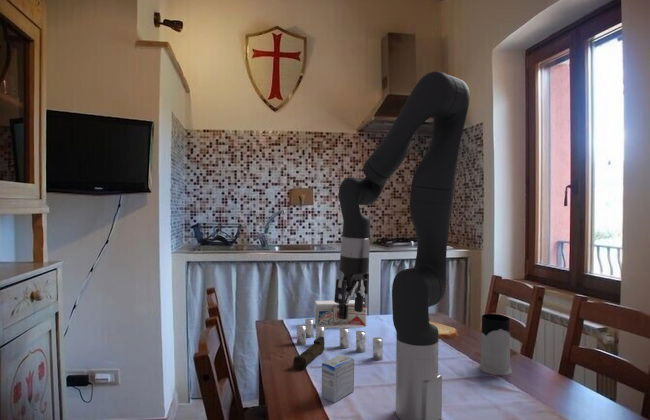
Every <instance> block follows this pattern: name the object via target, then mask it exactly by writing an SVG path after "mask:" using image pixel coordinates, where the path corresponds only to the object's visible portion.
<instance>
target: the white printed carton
mask: <svg viewBox="0 0 650 420" xmlns="http://www.w3.org/2000/svg"><path fill="white" fill-rule="evenodd" d="M363 305H366V304H365V302H364V301H363ZM354 307H355V299H350V300H349V303H348V316H347V319H345V320H344V319H340V318H339V304H338V303H335V302H334V300H314V325H315V327H316V326H324V329H340V328H348V329H349V328H350V329H351V328H365V326H367V324H368V323H367V319H368V318H367V316H368V315H367V314H368V313H367V310H368V309H367V307H366V306H365V307H364V306H363V311H362V312H357V311H355V310H354Z"/></svg>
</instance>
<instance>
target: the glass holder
mask: <svg viewBox="0 0 650 420" xmlns="http://www.w3.org/2000/svg"><path fill="white" fill-rule="evenodd" d="M510 320H511V318H510V317H508V316H506V315H501V314H496V313H495V314H494V313H486V314H482V315H481V332H480V362H479V365H478V368H479V370H481V371H482V372H483V373H487V374H490V375H494V376H507V375H510V374H512V369H511V332H510V331H511V330H510V329H511V328H510V325H511V324H510V323H511V321H510Z"/></svg>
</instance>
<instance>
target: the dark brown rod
mask: <svg viewBox="0 0 650 420" xmlns="http://www.w3.org/2000/svg"><path fill="white" fill-rule="evenodd" d="M324 350H325V336H324V337H319V338H317V339H316V338H315V339H314V340H313V343H312V345H310V347H308V348H306V349H305V351H303V352H301V353H300V354H299V355H298V356H295V357H294V358H293V367H294V369H297V370H303V371H304V370H305V369H306V368H307V367H308V364H310V362H312V361H313V360H314V359H315V358H316V357H318V356H321V355H322V354H323V352H324Z"/></svg>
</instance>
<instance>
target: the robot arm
mask: <svg viewBox="0 0 650 420" xmlns="http://www.w3.org/2000/svg"><path fill="white" fill-rule="evenodd" d="M470 93H471V92H470V90H469V87H468V84H467V83H466V82H465V81H464V80H462V79H461V78H458V77H455V76H453V75H450V74H447V73H445V72H442V71H435V70H434V71H430V72H428V73H426V74H425V75H423V76H422V77H421V78H420V79H419V80H418V81H417V83H416V84H415V86H414V87H413V89H412V91H411V92H410V94H409V96H408V97H407V99H406V101H405V103H404V105H403V106H402V108H401V110H400V111H399V114H398V115H397V117H396V118H395V120H394V122H393V123H392V125H391V127H390V129H389V130H388V132H387V134H386V135H385V137H384V138H383V139H382V141H381V142H380V143H379V145H378V146H377V147H376V148H375V150H373V152H372V153H371V155H370V156H369V157H368V158H367V159H366V161H365V162H364V164H363V165H362V172H363V174H364V176H365V177H364V178H363V177H353V176H352V177H351V176H350V177H346V178H345V179H343V180H342V182H341V183H340V185H339V189H338V199H339V200H338V201H339V205H340V209H341V215H342V219H343V220H342V223H343V224H342V238H341V243H340V253H339V271H340V272H341V273H342V274H343V277H342V279H339V278H336V280H335V291H334V300H333V301H334V302H335V303H338V304H339V318H340V319H344V320H345V319H347V316H348V303H349V300H351V299H352V298H354V297H353V296H355V298H354V300H355V307H354V310H355V311H357V312H362V311H363V307H364V304H363V302H364V298H365V297H366V295H368V294H369V284H370V283H369V282H370V281H369V280H370V279H369V277H370V273H368V272H369V264H370V261H369V260H370V247H371V246H370V244H371V243H370V233H371V232H370V231H371V218H370V217H369V216H368V215H366V214H364V213H362V211H361V209H360V206H369V205H372V204H373V203H374V202H376V201H377V200H378V198H379V197H380V196H381V193H382V192H383V189H384V188H385V185H386V183H387V181H388V180H389V179H390V177H391V176H392V175H393V174H394V173H396V171H397V170H398V169H399V167H400V166H401V165H402V164H403V162H404V161H405V159H406V157H407V154H408V152H409V149H410V144H411V141H412V139H413V137H414V135H415V134H416V132H417V131H418V129H419V128H420V127H421V126H422V125H423V124H424V123H426V122H427V121H428V119H430V118H433V123H432V124H433V126H432V134H431V140H430V143H429V146H428V148H427V150H426V152H425V154H424V156H423V157H422V159H421V160H420V162H419V164H418V165H417V167H416V170H415V171H414V174H413V176H412V180H411V181H412V182H411V186H410V195H409V208H408V209H409V213H410V218H411V223H412V225H413V229H414V231H415V232H414V233H415V235H416V240H417V241H416V242H417V243H416V244H417V245H416V249H417V250H416V256H415V262H414V267H410V268H406V269H402V270H400V271H398V273H397V274H396V275H395V277H394V278H393V281H392V284H391V306H392V307H391V309H392V322H393V326H394V328H395V331H396V332H395V333H396V341H395V342H396V343H395V345H396V349H395V350H396V351H395V353H396V354H395V356H396V357H395V365H396V366H395V415H396V417H397V418H398V419H399V420H441V419H442V418H443V413H442V411H443V408H442V407H443V406H442V405H443V404H442V403H443V376H442V375H441V374H439V339H440V338H439V332H438V328H437V327H436V326H435V325H433V324H431V323H429V322H430V314H429V308H430V307H434V306H436V305H437V304H439V303H440V302H441V301H442V299H443V297H444V296H445V293H446V289H447V288H446V287H447V251H448V249H447V248H448V241H449V233H450V225H451V216H452V215H451V214H452V209H453V204H454V197H455V187H456V177H457V170H458V162H459V154H460V148H461V142H462V137H463V132H464V128H465V124H466V119H467V115H468V111H469V105H470V96H471V94H470Z"/></svg>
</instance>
